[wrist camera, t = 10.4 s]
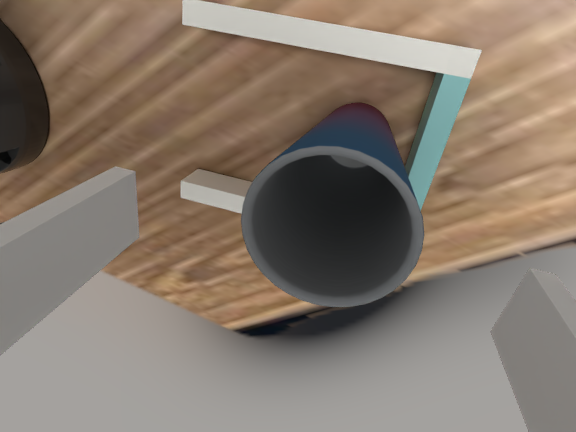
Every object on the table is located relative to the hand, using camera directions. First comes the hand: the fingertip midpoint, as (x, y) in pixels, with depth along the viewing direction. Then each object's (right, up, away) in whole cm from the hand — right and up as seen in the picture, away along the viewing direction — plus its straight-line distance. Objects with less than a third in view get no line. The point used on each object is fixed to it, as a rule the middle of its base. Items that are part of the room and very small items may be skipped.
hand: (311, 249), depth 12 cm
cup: (+4, +7, +14) cm, 17 cm away
